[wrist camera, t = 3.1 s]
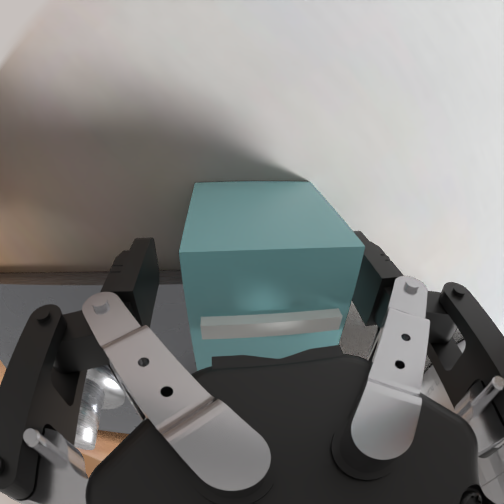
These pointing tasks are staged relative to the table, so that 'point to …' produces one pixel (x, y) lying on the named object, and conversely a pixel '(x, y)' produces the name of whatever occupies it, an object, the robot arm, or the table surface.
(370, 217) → the table surface
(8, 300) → the post base
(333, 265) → the teal cube with window
